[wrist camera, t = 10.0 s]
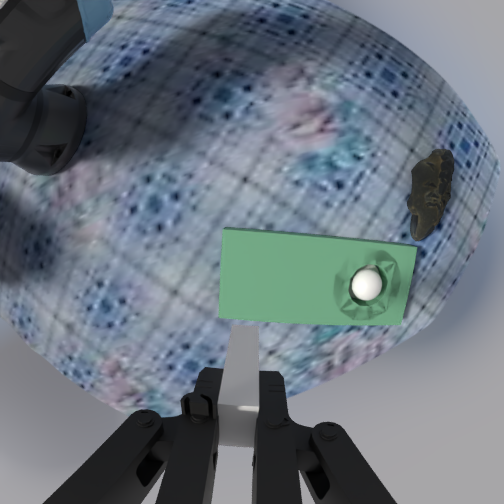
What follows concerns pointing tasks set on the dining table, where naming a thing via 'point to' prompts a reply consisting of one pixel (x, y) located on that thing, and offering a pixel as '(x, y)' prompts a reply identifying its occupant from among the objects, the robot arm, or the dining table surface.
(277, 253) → the green rectangular board
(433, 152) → the stone
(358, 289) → the ball
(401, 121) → the dining table surface
